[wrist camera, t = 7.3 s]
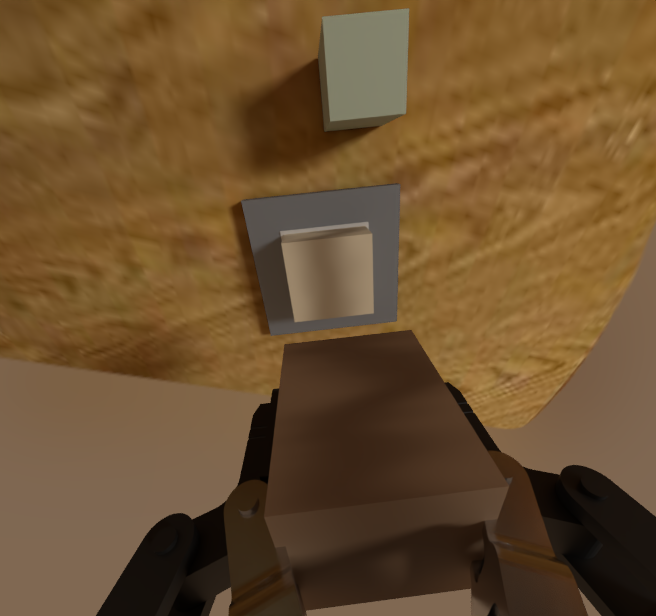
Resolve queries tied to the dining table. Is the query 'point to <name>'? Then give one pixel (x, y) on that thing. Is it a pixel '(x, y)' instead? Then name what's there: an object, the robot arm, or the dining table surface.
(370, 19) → the sage block
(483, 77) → the dining table surface
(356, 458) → the walnut block
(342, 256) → the maple slab
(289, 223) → the plate
